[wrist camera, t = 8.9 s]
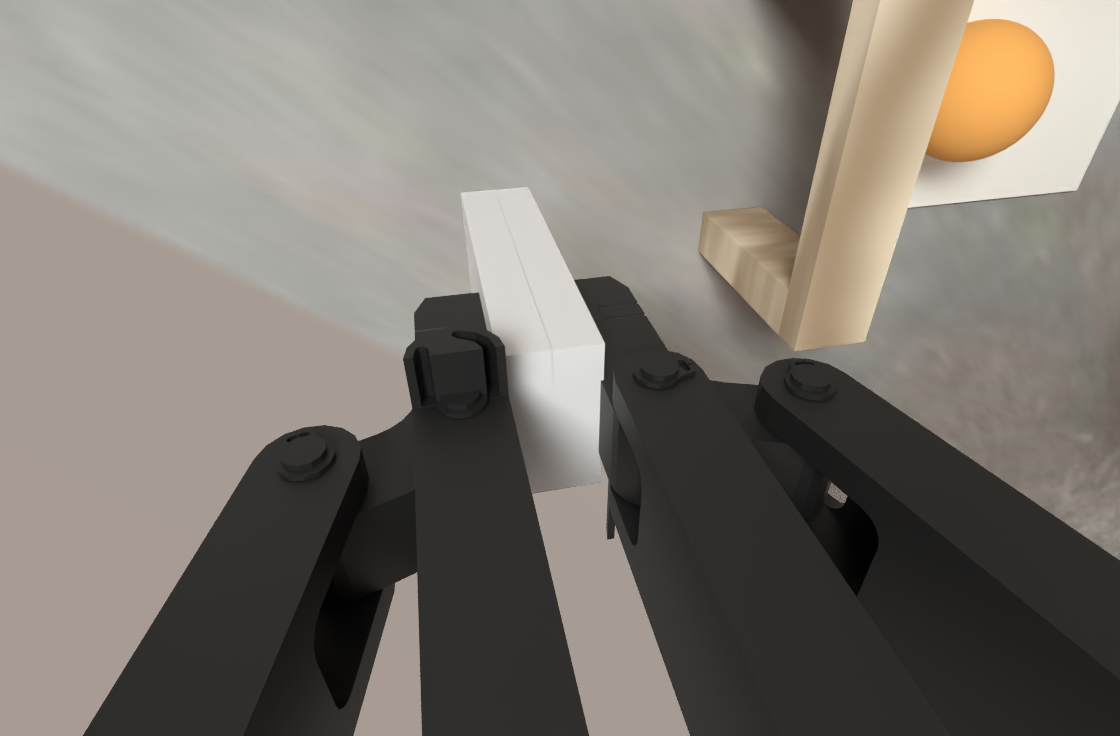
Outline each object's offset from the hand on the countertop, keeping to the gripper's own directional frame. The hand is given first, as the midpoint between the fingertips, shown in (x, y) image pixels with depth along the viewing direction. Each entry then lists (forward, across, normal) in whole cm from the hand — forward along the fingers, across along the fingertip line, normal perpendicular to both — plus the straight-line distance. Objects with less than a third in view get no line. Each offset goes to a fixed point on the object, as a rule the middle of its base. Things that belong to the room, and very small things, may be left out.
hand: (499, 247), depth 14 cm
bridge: (+13, -13, 0) cm, 18 cm away
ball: (+11, -21, 0) cm, 24 cm away
